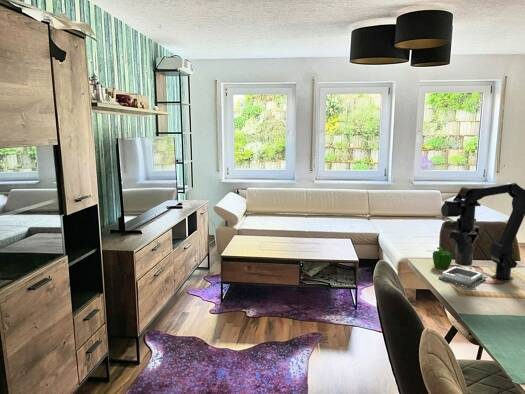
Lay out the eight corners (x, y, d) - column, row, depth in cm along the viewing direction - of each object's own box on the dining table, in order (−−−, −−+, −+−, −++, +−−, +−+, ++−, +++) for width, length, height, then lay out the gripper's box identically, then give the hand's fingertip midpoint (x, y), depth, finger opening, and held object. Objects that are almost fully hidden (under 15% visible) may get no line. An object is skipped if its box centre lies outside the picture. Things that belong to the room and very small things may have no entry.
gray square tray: (453, 271, 185) (453, 265, 185) (485, 280, 175) (486, 273, 174) (438, 278, 176) (439, 272, 176) (471, 288, 166) (472, 281, 165)
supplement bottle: (474, 266, 170) (476, 239, 168) (457, 266, 172) (458, 238, 170) (469, 261, 177) (471, 235, 175) (452, 260, 178) (454, 234, 176)
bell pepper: (452, 266, 192) (453, 246, 190) (449, 272, 185) (451, 251, 183) (433, 263, 196) (434, 244, 194) (430, 268, 189) (431, 248, 188)
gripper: (457, 210, 183) (455, 243, 185) (438, 216, 171) (435, 251, 173) (483, 214, 174) (480, 248, 177) (464, 220, 162) (462, 257, 165)
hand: (464, 251), depth 173 cm, fingers closed on supplement bottle, 7 cm apart
